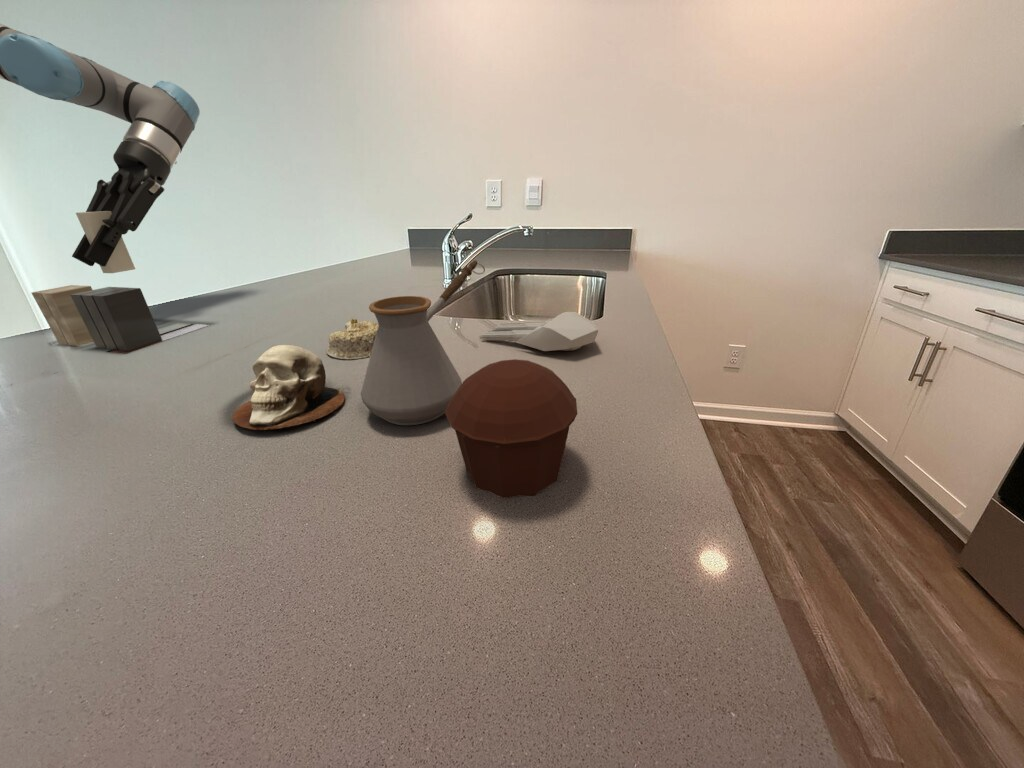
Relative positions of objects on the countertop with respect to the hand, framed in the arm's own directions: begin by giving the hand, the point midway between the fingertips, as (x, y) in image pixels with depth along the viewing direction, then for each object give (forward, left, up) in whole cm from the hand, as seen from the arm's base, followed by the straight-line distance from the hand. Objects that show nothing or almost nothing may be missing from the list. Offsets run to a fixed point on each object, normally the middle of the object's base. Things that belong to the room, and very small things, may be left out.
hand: (88, 261), depth 70 cm
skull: (+52, -17, -14) cm, 56 cm away
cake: (+48, +3, -14) cm, 50 cm away
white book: (0, +4, -2) cm, 5 cm away
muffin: (+81, -22, -14) cm, 85 cm away
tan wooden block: (0, -1, -14) cm, 14 cm away
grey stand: (+10, -1, -14) cm, 17 cm away
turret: (+77, +11, -14) cm, 79 cm away
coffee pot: (+68, -9, -14) cm, 69 cm away
